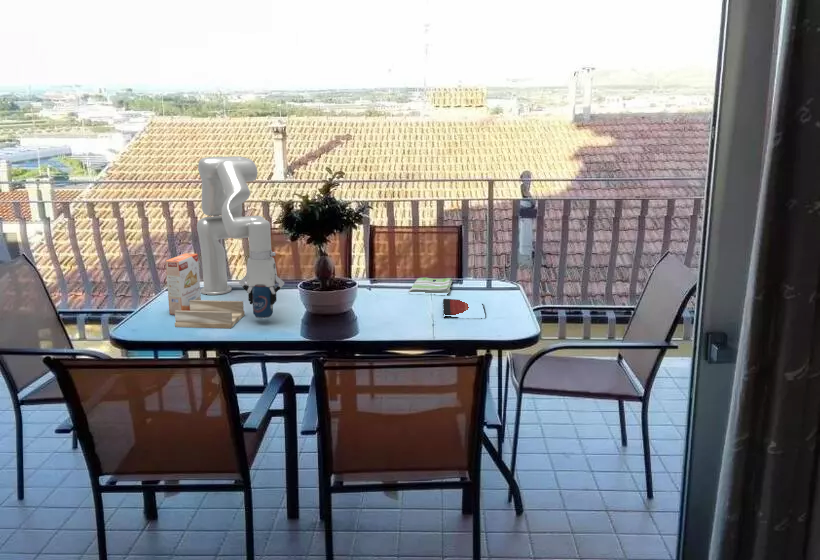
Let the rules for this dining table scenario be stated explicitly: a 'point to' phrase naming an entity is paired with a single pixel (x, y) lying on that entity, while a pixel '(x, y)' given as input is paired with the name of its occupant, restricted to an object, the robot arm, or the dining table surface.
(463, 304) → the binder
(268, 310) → the soda can
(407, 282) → the dining table surface
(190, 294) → the cracker box
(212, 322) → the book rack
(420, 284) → the dish towel
